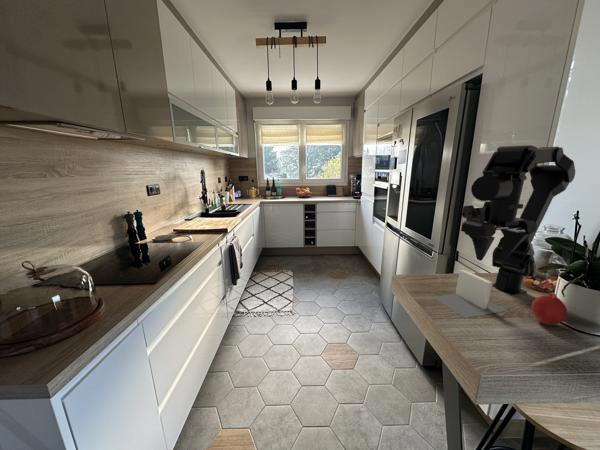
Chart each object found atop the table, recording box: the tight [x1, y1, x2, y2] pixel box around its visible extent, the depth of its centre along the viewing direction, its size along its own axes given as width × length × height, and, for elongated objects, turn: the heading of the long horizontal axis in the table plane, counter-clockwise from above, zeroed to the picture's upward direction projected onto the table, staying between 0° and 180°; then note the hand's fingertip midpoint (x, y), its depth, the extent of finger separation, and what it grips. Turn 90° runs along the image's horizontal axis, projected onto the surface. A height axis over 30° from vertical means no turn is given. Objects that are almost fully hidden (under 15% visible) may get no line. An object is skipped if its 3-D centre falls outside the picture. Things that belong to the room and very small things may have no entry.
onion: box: [530, 292, 568, 326], centre depth 57 cm, size 6×6×8 cm
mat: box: [431, 293, 509, 319], centre depth 65 cm, size 14×10×1 cm
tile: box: [454, 269, 494, 309], centre depth 66 cm, size 2×8×7 cm, turn 17°
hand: (492, 258), depth 66 cm, fingers open, 9 cm apart
